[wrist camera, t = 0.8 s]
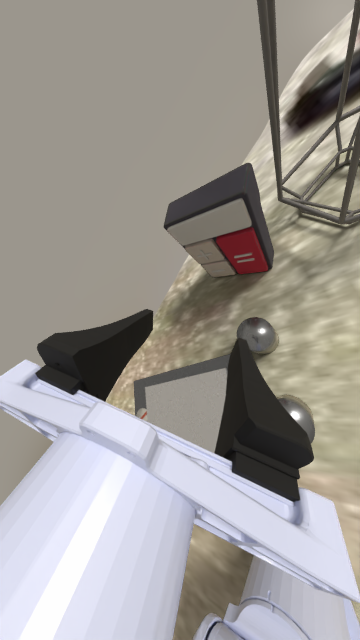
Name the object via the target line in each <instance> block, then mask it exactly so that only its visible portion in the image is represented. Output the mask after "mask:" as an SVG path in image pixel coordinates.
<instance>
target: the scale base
mask: <svg viewBox="0 0 360 640" xmlns="http://www.w3.org/2000/svg"><path fill="white" fill-rule="evenodd" d="M230 355H231V354H229V355H225V356H222V357H218V358H214V359H211V360H207V361H204V362H200V363H197V364H193V365H190V366H186V367H183V368H179V369H175V370H172V371H168V372H165V373H161V374H158V375H154V376H151V377H147V378H144V379H140V380H136V381H134V396H135V416H136V417H138V418H140V419H142V420H144V421H147V408H146V393H145V387H148V386H153V385H157V384H161V383H165V382H169V381H173V380H177V379H182V378H186V377H190V376H194V375H198V374H202V373H207V372H211V371H215V370H219V369H223V368H227V370H228V363H229V358H230Z"/></svg>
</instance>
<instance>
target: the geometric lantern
mask: <svg viewBox="0 0 360 640" xmlns="http://www.w3.org/2000/svg"><path fill="white" fill-rule="evenodd" d="M257 5H258V14H259V23H260V33H261V42H262V50H263V60H264V70H265V79H266V88H267V97H268V107H269V116H270V125H271V134H272V144H273V153H274V162H275V172H276V181H277V192H278V200H279V201H280V202H283V203H285V204H288V205H291V206H293V207H296V208H299V209H300V210H301V212H302V213H306V214H309V215H313V216H317V217H321V218H325V219H327V220H330V221H333V222H335V223H338V224H351V223H354V222H356V221H358V220H360V214H358V215H355V216H353V214H356V213H359V212H360V209H358V210H355V211H350V210H348V206H349V201H350V197H351V193H352V189H353V185H354V180H355V176H356V172H357V168H358V164H360V160H359V159H360V117H359V120H358V122H357V125H356V127H355V130H354V133H353V135H352V138H351V140H350V143H349V146H348V148H345V149H343V150H342V145H341V137H340V129H339V122H341V121H342V120H344V119H346V118H348V117H350V116H352V115H354V114H356V113H358V112H360V106H358V107H357V108H355V109H353V110H351V111H349V112H347V113H345V114H343V115H342V111H343V106H344V101H345V96H346V91H347V85H348V80H349V74H350V69H351V63H352V58H353V52H354V47H355V42H356V36H357V31H358V25H359V20H360V0H355V6H354V12H353V18H352V24H351V30H350V37H349V43H348V49H347V55H346V61H345V68H344V74H343V80H342V86H341V92H340V98H339V104H338V109H337V115H336V120H335V122H334V123H333V124H332V125H331V126H330V127H329V128H328V130H327V131H326V132H325V133H324V134H323V135H322V136H321V137H320V138H319V140H318V141H317V142H316V143H315V144H314V145H313V146H312V147H311V149H310V150H309V151H308V152H307V153H306V154H305V155H304V156H303V157H302V159H301V160H300V161H299V162H298V163H297V164H296V165H295V166H294V168H293V169H292V170H291V171H290V172H289V173H288V174H287V175H286V177H285V178H284V179H283V180H282V172H281V147H280V121H279V96H278V71H277V43H276V18H275V0H257ZM334 128H335V130H336V137H337V145H338V153H337V154H336V155H335V156H334V158H333V159H332V160H331V161H330V162H329V164H328V165H327V166H326V167H325V168H324V169H323V171H322V172H321V173H320V174H319V175H318V177H317V178H316V179H315V180H314V181H313V183H312V184H311V185H310V186H309V187H308V188H307V190H306V191H305V192H304V193H303V194H302V196H300V195H298V194H297V193H295V192H293V191H291V190H289V189H287V188H285V187H283V186H282V185H283V184H284V183H285V182H286V181H287V180H288V179H289V178H290V176H291V175H292V174H293V173H294V172H295V171H296V170H297V169H298V168H299V166H300V165H301V164H302V163H303V162H304V161H305V160H306V159H307V158H308V157H309V155H310V154H311V153H312V152H313V151H314V150H315V149H316V148H317V147H318V145H319V144H320V143H321V142H322V141H323V140H324V139H325V138H326V137H327V136H328V134H329V133H330V132H331V131H332V130H333V129H334ZM355 136H356V137H355ZM354 139H355V142H354V146H352V144H353V141H354ZM351 150H353V152H352V157H351V160H349V156H350V152H351ZM346 151H347V155H346V159H345V161H344V162H343V163H341V164H339V158H340V154H341V153H344V152H346ZM335 159H336V163H335V167H334V169H333V170H332V171H331V172H330V173H329V174H328V175H327V176H326V177H325V178H324V180H323V181H322V182H321V183H320V184H319V185H318V186H317V187H316V188H315V189H314V190H313V192H312V193H311V194H310V195H309V196H308V197H307V198H306V199H305V200H304V201H303V197H304V196H305V195H306V193H307V192H308V191H309V190H310V189H311V188H312V186H313V185H314V184H315V183H316V182H317V181H318V179H319V178H320V177H321V176H322V175H323V173H324V172H325V171H326V170H327V169H328V168H329V166H330V165H331V164H332V163H333V162H334V161H335ZM346 163H350V167H349V172H348V177H347V182H346V187H345V192H344V197H343V202H342V207H341V208H336V207H331V206H327V205H322V204H317V203H312V202H308V199H309V198H310V197H311V196H312V195H313V194H314V193H315V192H316V191H317V190H318V189H319V187H320V186H321V185H322V184H323V183H324V182H325V181H326V180H327V179H328V178H329V177H330V175H331V174H332V173H333V172H334V171H335V170H336V169H337V168H339V167H341V166H343V165H344V164H346ZM282 190H284V191H285V192H287V193H289V194H291V195H293V196H295V197H297V198H299V199H300V200H296V199H289V198H283V194H282ZM304 204H306V205H311V206H315V207H320V208H324V209H328V210H333V211H337V212H340V217H336V216H334V215H331V214H328V213H325V212H323V211H320V210H317V209H314V208H311V207H309V206H306V205H304ZM346 214H348V215H347V216H346Z"/></svg>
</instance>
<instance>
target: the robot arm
mask: <svg viewBox="0 0 360 640" xmlns="http://www.w3.org/2000/svg"><path fill="white" fill-rule="evenodd" d="M152 330H153V311H151V310H148V309H146V310H143V311H141V312H139V313H137V314H134V315H132V316H130V317H127V318H125V319H122V320H119V321H117V322H114V323H111V324H108V325H104V326H101V327H96V328H92V329H88V330H81V331H74V332H65V333H55V334H53V335H52V336H50V337H48V338H47V339H45V340H44V341H42V342H41V343H39V344H38V346H37V350H38V352H39V354H40V356H41V357H42V359H43V361H44V362H45V364H46V365H45V366H44V367H42V368H41V367H40V366H39V365H37V364H35V363H33V362H30V361H28V360H24V361H23V362H21V363H20V364H18V365H17V366H15V367H14V368H12V369H11V370H9V371H8V372H6V373H5V374H3V375H2V376H0V408H1V409H2V410H3V411H5V412H7V413H8V414H10V415H12V416H13V417H15V418H17V419H18V420H20V421H22V422H23V423H25V424H26V425H28V426H30V427H31V428H33V429H34V430H36V431H38V432H39V433H41V434H42V435H44V436H45V437H47V438H49V439H50V440H52V441H53V442H54V443H53V444H52V445H51V446H50V448H49V449H48V450H47V451H46V452H45V453H44V455H43V456H42V457H41V458H40V459H39V461H38V462H37V463H36V464H35V465H34V467H33V468H32V469H31V470H30V471H29V472H28V474H27V475H26V476H25V477H24V478H23V480H22V481H21V482H20V483H19V485H18V486H17V487H16V488H15V489H14V490H13V492H12V493H11V494H10V495H9V497H8V498H7V499H6V500H5V501H4V502H3V503H2V505H1V506H0V640H173V634H174V629H175V623H176V618H177V612H178V607H179V601H180V596H181V590H182V585H183V579H184V573H185V568H186V562H187V557H188V551H189V546H190V540H191V535H192V529H193V524H195V525H197V526H199V527H201V528H203V529H205V530H207V531H209V532H211V533H213V534H214V535H216V536H218V537H220V538H222V539H224V540H226V541H228V542H230V543H232V544H233V545H235V546H237V547H239V548H241V549H243V550H245V551H247V552H249V553H251V554H253V555H254V556H253V559H252V563H251V566H250V569H249V573H248V576H247V580H246V583H245V586H244V590H243V593H242V597H241V600H240V603H239V606H236V605H233V604H231V603H229V604H228V607H227V610H226V613H225V616H224V619H223V621H222V619H221V618H220V617H219V616H218V615H216V614H214V613H209V614H208V615H207V616H205V618H204V619H203V621H202V622H201V624H200V626H199V627H198V629H197V631H196V633H195V635H194V637H193V639H192V640H360V624H359V621H358V619H357V616H356V613H355V611H354V608H353V605H352V602H351V600H352V601H355V602H358V603H360V594H359V591H358V587H357V584H356V580H355V576H354V573H353V569H352V566H351V562H350V559H349V555H348V552H347V548H346V545H345V541H344V537H343V534H342V530H341V527H340V523H339V520H338V516H337V513H336V509H335V505H334V503H333V502H332V501H331V500H329V499H327V498H325V497H323V496H321V495H319V494H316V493H314V492H312V491H310V490H308V489H305V488H300V487H299V488H298V483H297V479H299V478H300V475H299V470H298V469H299V468H301V467H304V466H306V465H308V464H310V463H311V462H312V461H313V459H314V455H313V451H312V447H311V443H310V440H309V437H308V434H307V433H306V431H305V430H304V429H303V428H302V427H301V426H300V425H299V424H298V423H297V422H296V421H295V420H294V419H293V418H292V416H291V415H290V414H289V413H288V412H287V410H286V409H285V408H284V407H283V406H282V404H281V403H280V402H279V401H278V399H277V398H276V396H275V395H274V394H273V392H272V391H271V390H270V388H269V387H268V385H267V383H266V382H265V380H264V378H263V377H262V375H261V373H260V371H259V369H258V367H257V365H256V363H255V360H254V358H253V356H252V353H251V351H250V348H249V345H248V342H247V340H245V339H241V338H238V339H237V341H236V344H235V346H234V348H233V350H232V352H231V355H230V358H229V363H228V370H227V384H226V396H225V402H224V408H223V413H222V419H221V424H220V429H219V434H218V438H217V443H216V448H215V452H214V453H212V452H210V451H208V450H206V449H204V448H202V447H200V446H198V445H195V444H193V443H191V442H189V441H187V440H185V439H183V438H181V437H178V436H176V435H174V434H172V433H170V432H168V431H166V430H164V429H161V428H159V427H157V426H155V425H153V424H151V423H149V422H147V421H144V420H142V419H140V418H138V417H136V416H134V415H132V414H130V413H127V412H125V411H123V410H121V409H119V408H117V407H115V406H113V405H110V404H108V403H106V402H105V401H106V399H107V397H108V395H109V393H110V392H111V390H112V388H113V386H114V385H115V383H116V381H117V379H118V378H119V376H120V375H121V373H122V371H123V370H124V368H125V367H126V365H127V364H128V362H129V361H130V359H131V358H132V357H133V355H134V354H135V353H136V352H137V350H138V349H139V348H140V347H141V346H142V344H143V343H144V342H145V341H146V339H147V338H148V336H149V335H150V333H151V331H152ZM223 622H224V623H223Z"/></svg>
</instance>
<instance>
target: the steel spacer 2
mask: <svg viewBox="0 0 360 640" xmlns="http://www.w3.org/2000/svg"><path fill="white" fill-rule="evenodd" d="M277 399H278V401H279V402H280V403H281V404H282V406H283V407H284V408H285V409H286V410H287V412H288V413H289V414H290V415H291V416H292V418H293V419H294V420H295V421H296V422H297V423H298V424H299V425H300V426H301V427H302V428H303V429H304V430H305V431H306V433H307V434H308V437H309V440H310V443H312V441H313V439H314V436H315V428H314V420H313V415H312V412H311V410H310V408H309V407H308V406H307V405H306V404H305V403H304V402H303V401H302V400H301V399H299V398H297V397H295V396H292V395H281V396H279V397H277Z"/></svg>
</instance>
